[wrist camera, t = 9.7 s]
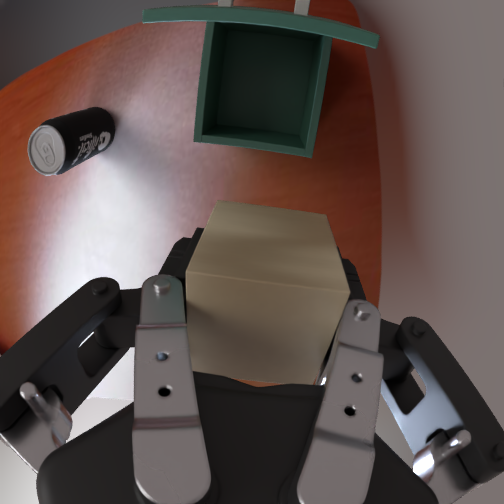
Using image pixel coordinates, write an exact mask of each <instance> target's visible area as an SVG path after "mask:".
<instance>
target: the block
mask: <svg viewBox="0 0 504 504" xmlns="http://www.w3.org/2000/svg"><path fill="white" fill-rule="evenodd" d="M349 295H350V289H349V286H348V282H347V279H346V275H345V272H344V269H343V265H342V262H341V259H340V256H339V253H338V249H337V246H336V243H335V240H334V237H333V234H332V231H331V228H330V225H329V222H328V219H327V216H326V215H324V214H317V213H311V212H304V211H297V210H290V209H283V208H276V207H269V206H261V205H253V204H246V203H238V202H229V201H221V200H217V202H216V205H215V207H214V209H213V211H212V213H211V215H210V218H209V220H208V222H207V224H206V226H205V229H204V231H203V233H202V235H201V238H200V240H199V242H198V244H197V247H196V249H195V251H194V254H193V256H192V258H191V261H190V263H189V265H188V267H187V270H186V308H187V331H188V339H189V348H190V356H191V363H192V371H197V372H203V373H209V374H215V375H222V376H226V377H229V378H236V379H244V380H252V381H261V382H271V383H281V384H291V383H294V384H309V385H312V384H313V382H314V380H315V378H316V376H317V373H318V371H319V369H320V367H321V364H322V362H323V360H324V358H325V355H326V353H327V351H328V348H329V346H330V343H331V341H332V339H333V336H334V334H335V331H336V329H337V326H338V324H339V321H340V319H341V316H342V314H343V311H344V308H345V306H346V303H347V301H348V298H349Z"/></svg>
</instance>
